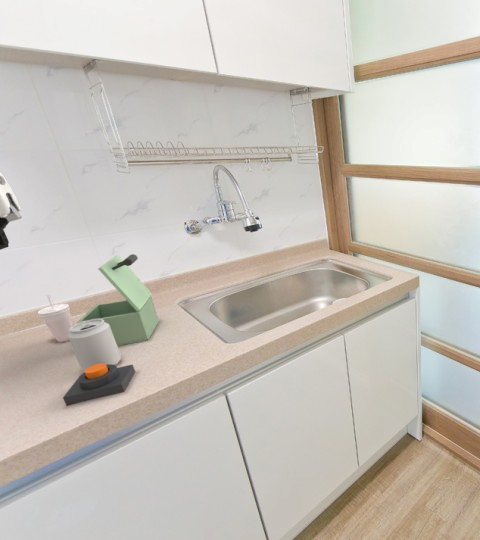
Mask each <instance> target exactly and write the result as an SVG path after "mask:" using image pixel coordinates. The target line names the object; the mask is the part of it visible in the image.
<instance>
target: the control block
mask: <svg viewBox="0 0 480 540" xmlns="http://www.w3.org/2000/svg"><path fill="white" fill-rule="evenodd" d="M106 366H107V368H108V373H106V374H105V375H103V376H100V377H98V378H94V379H87V377H86V374H85V372H83V373H81V374H80V375H79V376H78V378H76V380H75V381H74V383H73V384H72V385H71V386H70V388H69V389H68V391H67V392H65V394H64V395H63V397H62V399H63V401H64V403H65V406H67V407H68V406H71V405H76V404H80V403H84V402H88V401H92V400H96V399H97V400H98V399H100V398H104V397H108V396H113V395H118V394H122V393H125V391H126V390H127V388H128V386H129V384H130V382H131V381H132V379H133V377H134V375H135V373H136V370H135V367H134V364H128V365H124V366H119V367H118V366H117V365H112V364H107V365H106Z"/></svg>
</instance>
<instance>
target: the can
mask: <svg viewBox="0 0 480 540" xmlns="http://www.w3.org/2000/svg"><path fill="white" fill-rule="evenodd" d="M69 331H70V333H69V334H68V338H69V340H68V341H69V343H70V345H71V348H72V350H73V352H74V354H75V358H76V359H77V362H78V364H79V367H80V369H81V371H82V372H83V373H85V370H86V369H87V368H89V367H91V366H93V365H96V364H100V363H105V364H106V365H107V364H112V365H115V366H117V364H119V362H120V361H121V360H122V355H121V352H120V349H119V346H117V344H116V341H115V339H114V336H113V333H112V331H111V328H110V325H109V324H108V323H106V322H104V320H103V319H91V320H87V321H83V322H80V323H78V324H76V323H75V324H74V325H72V327H71V328H70V329H69Z"/></svg>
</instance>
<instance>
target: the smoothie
mask: <svg viewBox="0 0 480 540" xmlns="http://www.w3.org/2000/svg"><path fill="white" fill-rule="evenodd" d="M46 297H47V299H48V302H49V304H50V306H47V307H44V308H41V309H40V310H38V311H37V315H38V317H40V318H41V319H42V321H43V322H44V324H45V325H46V327H47V329H48V330H49V331H50V332H51V335H53V337H54V338H55V340H56V341H57V342H58V343H62V342H66V341H69V338H68V334H69V333H70V331H69V329H70V328H71V327H72V326H73V322H72V316H71V312H70V309H71V307H70V305H69V304H68V303H61V304H55V305H54V301H53V300H52V297H51V294H46Z"/></svg>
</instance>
